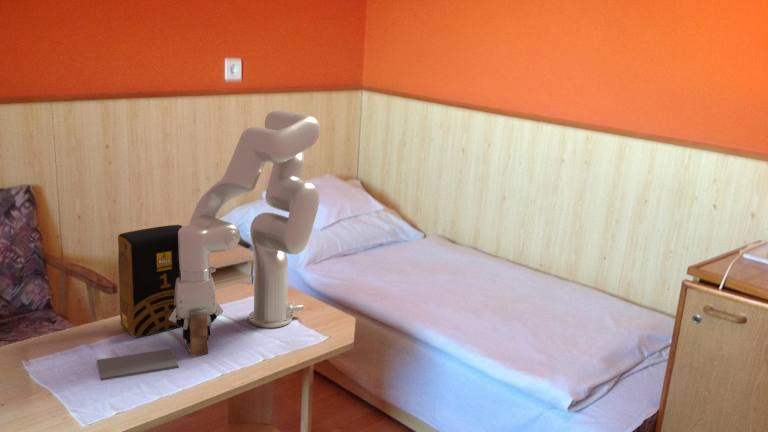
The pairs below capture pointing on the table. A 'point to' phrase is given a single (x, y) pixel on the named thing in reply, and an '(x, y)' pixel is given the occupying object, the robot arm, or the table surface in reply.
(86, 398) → the table surface
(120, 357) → the mat
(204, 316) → the block
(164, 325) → the black tall two-tone box
